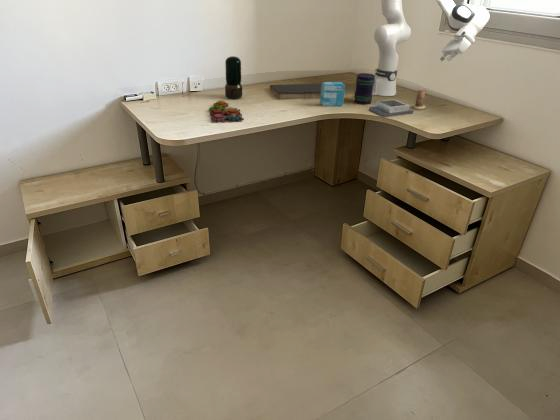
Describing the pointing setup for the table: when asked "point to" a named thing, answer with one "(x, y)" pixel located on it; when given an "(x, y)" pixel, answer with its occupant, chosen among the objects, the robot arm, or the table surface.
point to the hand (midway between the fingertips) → (444, 60)
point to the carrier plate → (390, 108)
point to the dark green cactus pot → (233, 78)
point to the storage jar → (364, 88)
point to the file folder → (296, 91)
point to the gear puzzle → (224, 113)
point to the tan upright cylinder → (419, 100)
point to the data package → (332, 93)
